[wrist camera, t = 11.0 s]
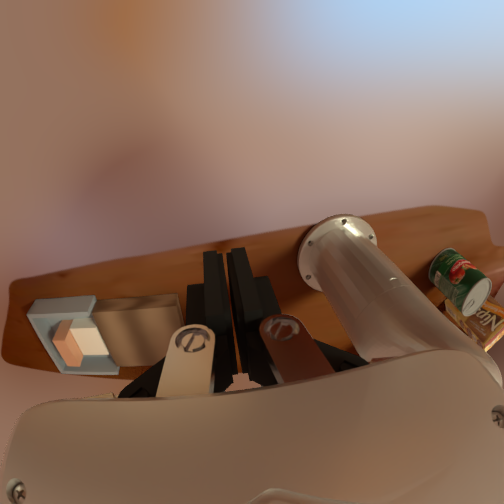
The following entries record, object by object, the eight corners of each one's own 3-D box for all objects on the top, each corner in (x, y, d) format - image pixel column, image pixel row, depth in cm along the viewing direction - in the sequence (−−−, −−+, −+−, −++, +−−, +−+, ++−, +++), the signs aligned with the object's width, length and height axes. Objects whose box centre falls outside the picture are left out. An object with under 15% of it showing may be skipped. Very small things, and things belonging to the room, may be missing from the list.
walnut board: (177, 293, 42) (176, 306, 39) (190, 349, 48) (191, 362, 45) (96, 300, 40) (91, 312, 38) (119, 354, 46) (117, 366, 44)
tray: (94, 295, 40) (87, 311, 36) (121, 357, 47) (118, 374, 43) (35, 299, 39) (26, 314, 35) (66, 358, 45) (61, 373, 42)
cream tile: (99, 317, 41) (95, 327, 39) (111, 343, 44) (108, 354, 42) (73, 318, 41) (69, 328, 39) (86, 344, 44) (83, 354, 42)
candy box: (445, 310, 56) (483, 355, 42) (443, 300, 54) (484, 346, 40) (471, 287, 54) (512, 327, 41) (470, 275, 52) (513, 316, 39)
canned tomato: (451, 239, 46) (489, 270, 36) (459, 264, 49) (493, 294, 40) (423, 267, 48) (459, 302, 38) (433, 289, 51) (465, 323, 42)
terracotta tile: (64, 340, 37) (52, 340, 36) (79, 366, 39) (67, 366, 39) (73, 319, 41) (61, 320, 41) (86, 345, 44) (75, 345, 44)
